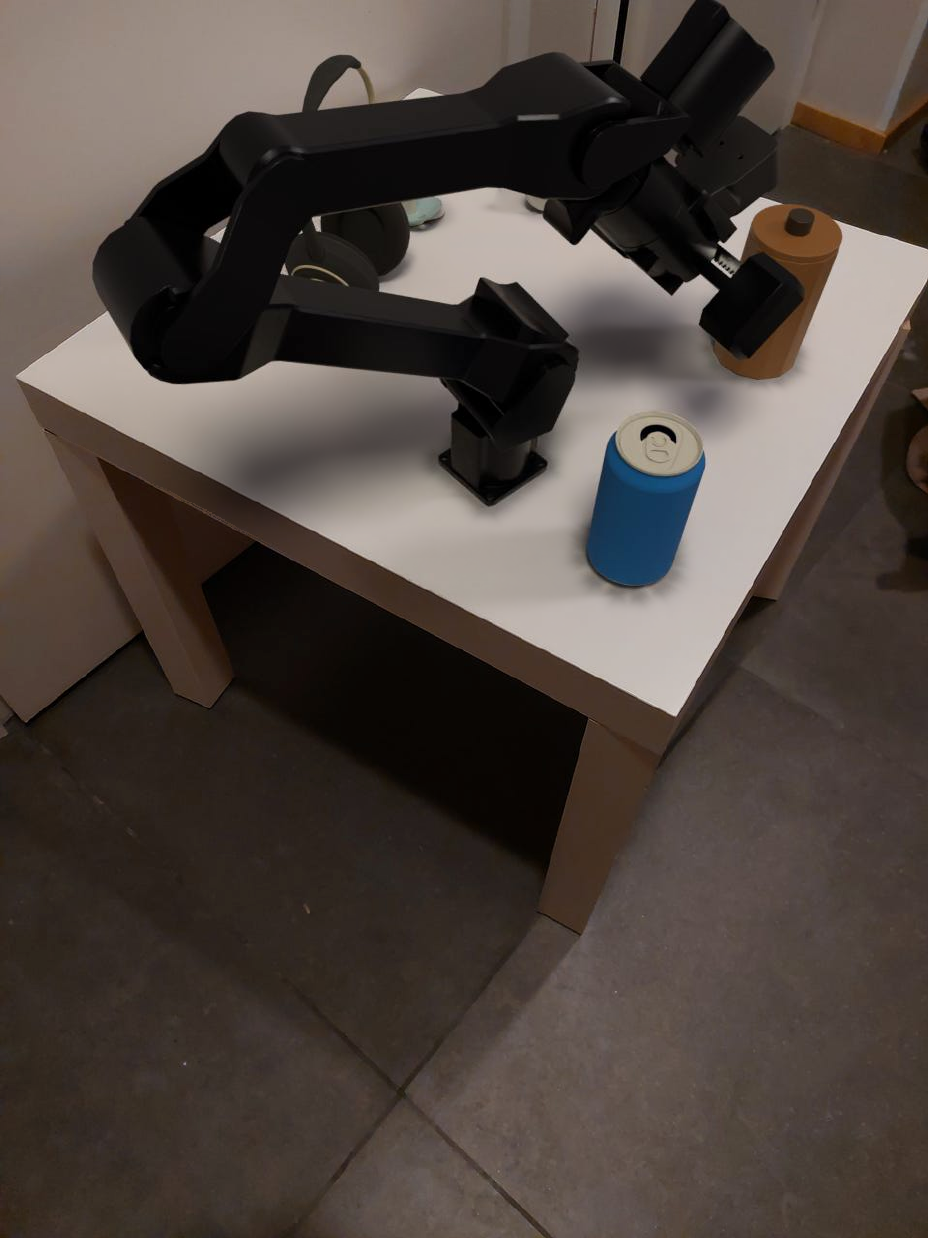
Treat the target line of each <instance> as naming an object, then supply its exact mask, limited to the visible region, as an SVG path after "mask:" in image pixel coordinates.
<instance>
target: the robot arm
mask: <svg viewBox="0 0 928 1238" xmlns="http://www.w3.org/2000/svg"><path fill="white" fill-rule="evenodd" d="M775 69H776V64H775V60H774V59H773V56H772V55H771V53H770V51H769V50H768V49H767V48H766V47H765V46H763V45H762V44H760V43H759V42H757V41H756V40H755V39H754V37H753V36H752V34H750V33H749V31H747V30H746V29H745V28H744V27H743V26H742V25H741V24H740V23H739V22H738V21H737V20H736V19H734V18H733V17H732V16H731V15H730V13H729V11H728V9H727V7H726V6H725V5H724V4H722V2H721V3H720V2H719V1H718V0H694V1H693V3H692V4H691V6H690V7H689V8H688V9H687V11H686V13H685V14H684V15H683V17H682V19H681V21H680V23H679V24H678V26H677V28H676V29H675V31H674V32H673V33H672V35H671V36H670V37H669V38H668V39H667V41H666V42H665V43H664V45H663V46H662V48H661V49H660V50H659V51H658V53H657V54H656V55H655V56H654V57H653V59H652V61H651V62H650V64H649V65H648V66H647V67H646V69H645V70H644V71H643V73H642V74H641V75H640V76H639V78H638V77H637V76H636V75H634V74H633V73H632V72H630V71H629V70H627V69H626V68H624V67H623V66H621V64H619V63H618V62H616V61H614V60H613V59H612V58H611V59H602V60H601V59H600V60H591V61H580V62H578V61H577V60H576V59H574V58H572V57H571V55H568V54H566V53H565V52H558V51H551V52H545V53H542V54H539V55H536V56H533V57H530V58H527V59H523V60H521V61H518V62H515V63H512V64H508V65H506V66H502V67H501V68H500V69H499V70H498V71H497V72H495V74H493V75H492V77H491V78H490V79H488V80H487V81H486V82H485V83H484V84H483V85H482V86H479V87H476V88H474V89H471V90H468V91H465V92H460V93H451V94H442V95H434V96H427V97H426V96H425V97H417V98H416V97H415V98H409V99H400V100H393V101H392V100H390V101H383V102H376V103H374V104H369V103H367V104H358V105H350V106H342V107H341V106H340V107H331V108H324V109H318V110H315V111H306V112H302V111H299V112H291V113H283V114H282V113H281V114H273V113H267V112H263V111H262V112H261V111H251V110H248V111H245V112H242V113H239V114H236V115H234V116H233V117H232V118H231V119H230V120H229V121H228V122H227V123H225V125H224V126H223V127H222V129H221V130H220V131H219V133H218V134H217V135H216V136H215V137H214V139H213V140H212V142H211V143H210V144H209V145H208V147H207V148H206V150H204V152H203V153H202V154H200V155H199V156H197V157H196V158H194V159H192V160H191V161H189V162H188V163H186V164H185V165H183V166H181V167H179V168H178V169H177V170H175V171H174V172H172V173H170V174H168V175H167V176H166V177H164V178H163V179H161V180H160V181H158V182H157V183H156V184H155V185H153V186H152V188H151V190H150V191H149V192H148V194H147V195H146V196H145V198H144V199H143V200H142V201H141V203H140V204H139V206H138V207H137V208H136V209H135V211H134V212H133V213H132V214H131V216H130V217H129V218H128V219H126V220H125V221H124V223H123V225H121V226H120V227H118V228H116V229H115V230H113V231H112V232H109V234H108V235H107V236H106V237H105V239H104V240H103V241H102V242H101V243H100V244H99V246H98V248H97V250H96V253H95V255H94V258H93V260H92V271H91V273H92V275H91V278H92V282H93V284H94V287H95V291H96V294H97V295H98V297H99V298H100V300H101V303H102V304H103V306H104V307H105V309H106V311H107V312H108V314H109V317H110V318H111V320H112V321H113V323H114V325H115V326H116V328H117V329H118V331H119V333H120V334H121V336H122V338H123V340H124V342H125V343H126V345H127V347H128V348H129V350H130V352H131V353H132V355H133V357H134V359H135V360H136V361H137V362H138V364H139V365H140V366H141V368H142V369H144V370H145V372H147V373H148V375H149V376H150V377H152V378H153V379H156V380H158V381H159V382H162V383H166V384H171V385H194V384H197V385H198V384H210V383H222V382H224V383H225V382H234V381H235V382H236V381H238V380H240V379H243V378H245V377H247V376H248V375H250V374H252V373H253V372H255V371H258V370H259V369H260V368H262V367H264V366H266V365H267V364H270V363H271V362H274V363H275V362H283V363H292V364H301V365H311V366H321V367H329V368H331V367H332V368H340V369H351V370H359V371H366V372H367V371H370V372H378V373H389V374H396V375H407V376H415V377H426V378H434V379H438V380H439V382H440V384H441V385H442V386H443V387H444V388H445V389H447V390H448V391H449V393H450V394H451V395H452V396H453V397H454V398H455V400H456V402H457V409H455V410H454V411H452V412H451V413H450V447H449V448H448V449H445V450H444V451H443V452H441V453H439V454H438V456H437V463H438V464H439V465H440V466H441V467H442V468H444V469H445V470H446V471H447V472H448V473H449V474H450V475H452V476H453V477H454V478H455V479H456V480H458V482H460V483H461V484H462V485H464V487H466V489H468V490H469V491H470V492H471V493H472V494H474V495H475V496H476V497H477V498H478V499H479V500H481V501H482V502H483V503H484V504H486V505H488V506H494V505H495V504H497V503H498V502H500V501H502V500H503V499H505V498H507V496H509V495H511V494H512V493H513V492H515V491H516V490H518V489H520V488H521V487H523V486H524V485H525V484H528V483H529V482H530V481H531V480H533V479H534V478H536V477H538V476H539V475H541V474H542V473H544V472H545V471H547V469H548V466H549V465H548V463H549V462H548V461H547V459H545V458H544V457H543V456H542V455H540V454H539V453H538V452H537V451H536V449H537V448H538V443H539V437H541V436H543V435H546V434H548V433H550V432H552V431H553V430H554V428H555V425H556V423H557V421H558V419H559V417H560V415H561V412H562V411H563V408H564V407H565V404H566V402H567V400H568V397H569V396H570V393H571V391H572V390H573V387H574V384H575V382H576V377H577V375H576V373H577V370H578V366H579V361H580V355H579V354H580V350H579V349H578V348H577V347H576V345H575V344H574V343H573V342H572V341H571V340H570V339H569V337H570V333H569V332H568V331H567V330H566V329H565V328H564V327H563V326H562V325H561V324H560V323H559V322H558V321H557V320H556V319H555V318H554V317H553V316H552V315H551V314H550V313H549V312H548V311H547V310H546V309H545V308H544V307H543V306H542V305H541V304H540V303H539V302H538V301H537V300H536V299H535V298H534V297H533V296H532V295H531V294H530V293H529V292H528V291H527V290H526V289H525V288H524V287H523V286H522V285H521V284H520V283H519V282H518V281H513V282H510V283H499V282H495V281H493V280H491V279H489V278H487V277H485V276H481V277H479V279H478V281H477V284H476V286H475V290H474V293H472V295H469V296H468V297H467V298H465V299H464V300H461V302H459V303H457V304H456V303H453V304H452V303H446V302H440V301H434V300H429V299H424V298H418V297H412V296H407V295H402V294H397V293H390V292H386V291H380V290H379V291H374V290H368V289H363V288H357V287H352V286H346V285H341V284H335V283H329V282H324V281H318V280H313V279H307V278H302V277H296V276H290V275H288V274H285V273H282V271H283V268H284V266H285V260H286V257H287V255H288V252H289V249H290V247H291V244H292V242H293V241H294V240H295V238H296V237H297V236H298V235H299V234H301V233H302V230H303V229H304V227H305V226H306V225H307V224H308V223H309V221H310V220H311V219H312V220H313V218H318V217H321V216H324V215H330V214H336V213H341V212H347V211H353V210H359V209H365V208H371V207H377V206H382V205H388V204H394V203H400V202H406V201H412V200H417V199H423V198H429V197H440V196H445V195H446V196H447V195H451V194H458V193H464V192H469V191H470V192H471V191H475V190H481V189H505V190H509V191H512V192H516V193H520V194H523V195H525V194H526V195H530V196H533V197H537V198H540V199H548V200H547V201H546V202H545V205H544V210H543V211H542V214H541V215H542V219H543V220H544V221H545V222H546V223H547V224H548V225H550V226H551V227H552V228H553V229H554V230H555V231H556V232H557V233H558V234H560V235H561V237H563V239H565V240H566V241H567V242H568V243H569V244H570V245H572V246H577V245H579V243H580V242H581V241H582V240H583V239H584V237H585V236H586V235H587V234H588V233H589V231H592V232H593V234H595V235H596V236H597V237H598V238H599V239H601V240H602V241H603V242H604V243H605V244H606V245H607V246H609V248H610V249H612V250H614V251H615V252H616V253H618V254H619V255H620V256H621V257H622V258H623V259H626V260H630V261H631V262H632V263H633V264H634V265H636V266H637V268H639V269H640V270H641V271H642V272H644V273H645V275H647V276H648V277H649V278H650V279H651V280H652V281H654V282H655V283H656V284H657V285H658V286H659V287H660V288H661V289H662V290H664V291H665V293H667V294H668V295H669V296H671V297H673V296H674V295H675V294H676V292H677V291H678V290H679V289H680V288H681V286H683V284H684V283H685V284H687V283H690V282H692V281H693V280H695V279H696V278H698V277H699V276H701V277H702V278H703V279H705V280H706V281H707V282H708V283H710V284H711V285H712V286H713V287H714V288H716V290H718V291H717V292H716V293H715V294H714V295H713V296H712V298H711V299H710V300H709V302H708V303H707V304H706V305H705V306H704V307H702V310H701V313H700V316H699V320H698V323H697V325H698V326H699V327H700V328H701V329H702V330H703V331H704V332H705V333H707V335H708V336H710V337H711V338H712V339H713V340H714V341H715V342H718V343H719V344H720V345H721V346H722V347H723V348H724V349H725V350H727V351H728V352H729V353H730V354H731V355H732V356H733V357H734V358H736V359H737V360H738V361H740V360H746V359H750V358H751V356H752V355H753V354H754V353H755V352H756V351H757V350H758V349H759V348H760V347H761V346H762V345H763V344H764V343H765V341H766V340H767V339H768V338H769V337H770V336H771V335H772V334H773V333H774V332H775V331H776V330H777V329H778V327H779V326H780V325H781V324H782V323H783V322H784V321H785V320H786V319H787V318H788V317H789V316H790V315H791V314H792V312H793V311H794V310H795V309H796V308H797V307H798V306H799V305H800V304H801V303H802V302H803V301H804V295H805V288H804V287H803V285H802V284H801V283H800V281H799V280H798V278H797V277H795V276H794V275H793V274H792V273H790V272H789V271H788V270H787V269H785V268H784V267H783V266H781V265H780V264H779V263H778V262H776V261H775V260H774V259H773V258H771V257H770V256H769V255H767V254H766V253H765V252H764V251H763V252H760V253H758V254H755V255H752V256H750V257H748V258H747V260H746V261H745V262H744V263H742V262H740V259H738V258H737V257H735V255H733V254H732V253H730V252H729V250H727V249H726V248H724V247H723V245H721V244H720V243H722V244H726V243H727V242H728V241H729V240H730V238H732V236H733V235H734V234H735V233H736V232H737V230H738V227H737V226H736V224H734V222H733V221H732V220H731V219H732V218H733V217H736V216H738V215H740V214H741V213H742V212H744V211H745V210H747V209H748V208H749V207H750V206H751V205H752V204H754V203H755V202H756V201H758V200H759V199H760V198H761V197H762V196H764V195H765V194H766V193H770V192H772V191H773V190H775V188H776V187H777V186H778V185H779V182H780V162H779V143H778V140H777V138H776V137H775V136H773V135H772V134H770V133H769V132H768V131H766V130H764V129H763V128H762V127H760V126H759V125H758V124H756V123H754V122H753V121H752V120H750V119H749V118H747V117H745V116H743V115H739V114H740V113H741V112H742V111H743V109H744V108H745V107H746V105H747V104H748V103H749V102H750V100H751V99H752V98H753V97H754V96H755V94H756V93H757V92H758V90H759V89H760V88H761V87H762V86H763V85H764V83H765V82H766V81H767V80H768V79H769V77H770V76H771V75H772V74H773V72H774V71H775ZM671 150H673V151H674V152H676V153H677V154H676V155H675V158H674V164H675V166H674V165H673V164H672V163H670V161H668V159H667V158H666V157H665V156H666V155H668V154H669V153H670V151H671ZM228 218H229V219H228ZM226 219H228V221H227V223H226V225H225V228H224V231H223V234H222V237H221V240H220V242H219V241H218V240H216V239H214V238H212V237H209V236H208V235H207V236H206V235H205V234H207V231H209V230H210V228H212V227H214V226H216V225H218V224H219V223H221V222H223V221H225V220H226ZM719 242H720V243H719ZM712 261H714V262H715V263H717V265H718V266H720V267H721V268H722V269H724V271H726V272H727V273H728V274H729V275H727V273H725V272H724V271H723V270H722V269H720V268H719V267H718V266H717V265H715V264H714V263H713V262H712ZM730 275H731V276H730Z"/></svg>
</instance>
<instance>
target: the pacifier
mask: <svg viewBox="0 0 928 1238" xmlns="http://www.w3.org/2000/svg"><path fill="white" fill-rule="evenodd" d="M401 203H402V205H403V207H404V209H405V211H406V214H407V217H408V221H409V226H410V227H414V226H420V225H422V224H424V223H425V222H426V221H433V220H436V219H440V218H441V217H442V216H443V215H444V214H445V212H446V211H445V206H444V204H443V202H442V200H441V199H440V198H439V197H437V196H435V197H429V198H423V199H417V200H412V201H406V202H401Z"/></svg>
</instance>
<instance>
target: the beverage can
mask: <svg viewBox="0 0 928 1238" xmlns="http://www.w3.org/2000/svg"><path fill="white" fill-rule="evenodd" d="M705 468H706V454H705V450H704V441H703V438H702V435H701V433H700V431H699V430H698V429H697V428H696V427H695V426H694V425H693V424H692V423H691V422H690V421H688V420H687V419H685V418H684V417H682V416H680V415H677V414H675V413H671V412H668V411H662V410H646V411H640V412H637V413H634V414H631V415H630V416H628V417H627V418H626V419H624V420H623V421H622V422H621V423H620V424H619V426H618V428H617V430H615V431H614V432H613V433H612V435H611V436H610V438H609V439H608V441H607V443H606V447H605V451H604V456H603V462H602V466H601V471H600V475H599V481H598V486H597V491H596V496H595V500H594V506H593V511H592V516H591V520H590V525H589V526H590V527H589V530H588V534H587V535H588V536H587V541H586V552H587V553H586V554H587V557H588V560H589V562H590V563H591V565H592V566H593V568H594V569H595V570H596V571H597V572H598V573H599V574H600V575H601V576H603V577H604V578H606V579H607V580H610V581H611V582H615V583H617V584H621V585H625V586H632V587H633V586H634V587H635V586H636V587H637V586H645V585H650V584H652V583H655V582H657V581H659V580H661V579H662V578H663V577H664V576H665V575H667V573H668V572H669V571H670V570H671V568H672V566H673V563H674V561H675V558H676V555H677V552H678V550H679V546H680V543H681V540H682V538H683V534H684V531H685V528H686V526H687V523H688V519H689V516H690V513H691V511H692V507H693V504H694V501H695V498H696V495H697V493H698V490H699V487H700V484H701V481H702V479H703V475H704V472H705Z"/></svg>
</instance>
